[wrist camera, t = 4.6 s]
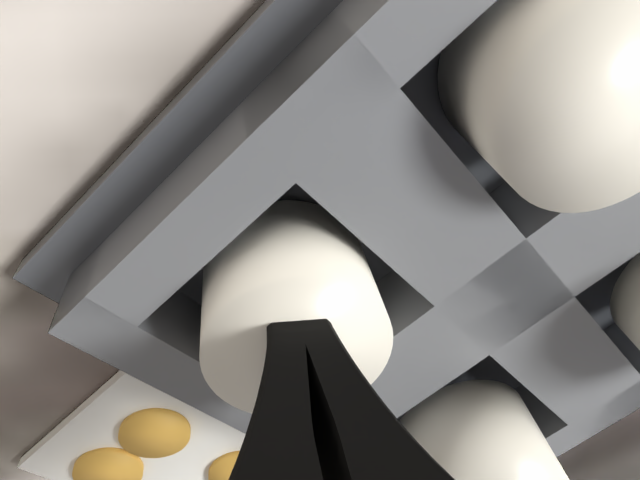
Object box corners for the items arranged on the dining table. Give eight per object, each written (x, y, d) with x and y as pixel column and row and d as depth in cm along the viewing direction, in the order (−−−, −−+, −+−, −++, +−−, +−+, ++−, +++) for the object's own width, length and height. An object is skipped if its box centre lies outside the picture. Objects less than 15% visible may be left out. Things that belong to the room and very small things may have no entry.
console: (808, 222, 18) (900, 274, 16) (406, 478, 23) (428, 548, 21) (605, -361, 9) (742, -451, 7) (21, 260, 14) (-20, 337, 12)
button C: (646, 63, 13) (756, 108, 10) (497, 181, 14) (561, 249, 11) (569, -95, 11) (684, -90, 8) (400, 61, 12) (451, 111, 9)
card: (313, 460, 21) (316, 475, 21) (214, 529, 23) (214, 544, 23) (127, 363, 17) (124, 379, 16) (20, 457, 19) (14, 474, 18)
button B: (546, 417, 18) (602, 508, 15) (442, 481, 19) (478, 576, 16) (479, 358, 16) (532, 454, 13) (366, 436, 17) (394, 537, 14)
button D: (393, 263, 15) (429, 343, 12) (283, 350, 16) (296, 440, 14) (286, 167, 13) (302, 239, 10) (168, 276, 14) (157, 365, 11)
